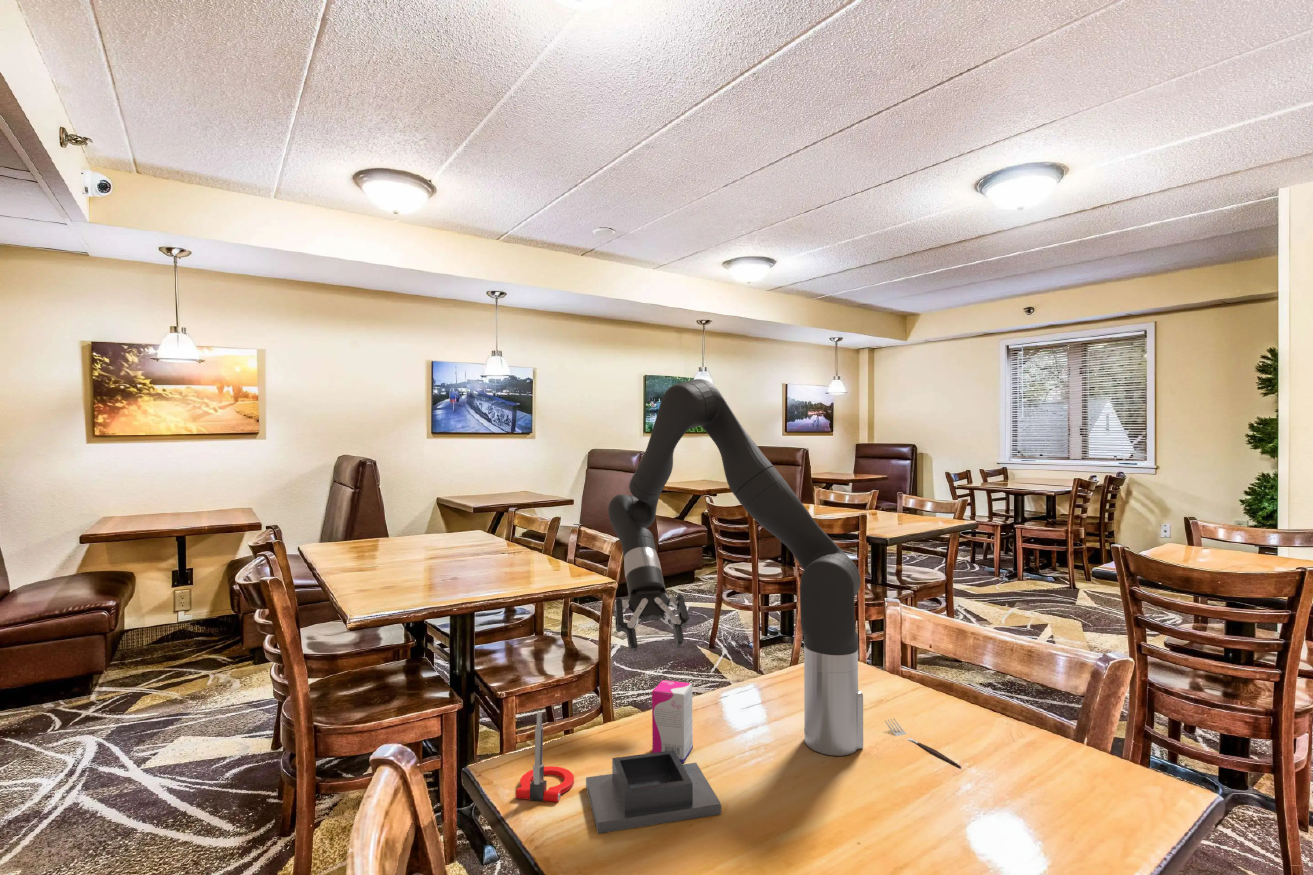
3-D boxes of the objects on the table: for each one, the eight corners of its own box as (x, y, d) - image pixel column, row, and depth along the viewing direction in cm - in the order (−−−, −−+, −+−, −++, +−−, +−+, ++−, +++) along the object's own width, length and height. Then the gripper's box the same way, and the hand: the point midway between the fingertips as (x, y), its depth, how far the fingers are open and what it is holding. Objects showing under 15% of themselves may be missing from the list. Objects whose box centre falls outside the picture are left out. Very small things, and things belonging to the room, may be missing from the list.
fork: (955, 772, 104) (955, 760, 104) (884, 731, 119) (883, 720, 119) (966, 768, 105) (966, 756, 105) (894, 728, 120) (894, 717, 120)
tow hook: (530, 771, 105) (509, 800, 96) (532, 691, 106) (511, 713, 97) (580, 775, 104) (563, 805, 95) (581, 695, 105) (564, 717, 95)
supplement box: (693, 747, 112) (693, 682, 112) (684, 763, 106) (683, 695, 106) (662, 742, 114) (662, 678, 114) (651, 758, 108) (651, 690, 108)
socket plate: (696, 771, 104) (696, 744, 104) (721, 814, 92) (721, 783, 92) (586, 786, 100) (585, 758, 100) (597, 833, 88) (597, 800, 88)
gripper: (611, 566, 127) (623, 641, 116) (680, 562, 131) (697, 635, 120) (607, 586, 133) (617, 660, 122) (673, 582, 136) (689, 653, 125)
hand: (657, 647), depth 121 cm, fingers open, 8 cm apart
